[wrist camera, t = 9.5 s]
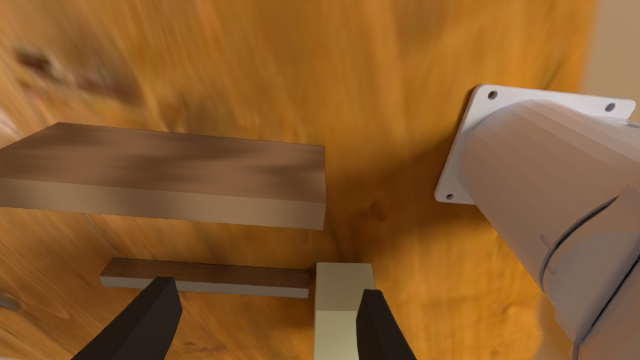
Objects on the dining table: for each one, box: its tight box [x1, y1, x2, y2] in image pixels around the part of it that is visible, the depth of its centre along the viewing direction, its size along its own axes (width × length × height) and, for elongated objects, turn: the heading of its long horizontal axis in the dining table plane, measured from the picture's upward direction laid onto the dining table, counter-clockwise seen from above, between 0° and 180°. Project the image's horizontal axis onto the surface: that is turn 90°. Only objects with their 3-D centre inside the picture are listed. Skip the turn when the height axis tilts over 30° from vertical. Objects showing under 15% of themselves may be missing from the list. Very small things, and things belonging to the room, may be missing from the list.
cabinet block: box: [313, 262, 376, 360], centre depth 24 cm, size 4×8×4 cm, turn 178°
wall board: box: [0, 122, 327, 230], centre depth 15 cm, size 16×2×6 cm, turn 84°
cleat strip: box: [99, 258, 309, 298], centre depth 23 cm, size 16×1×2 cm, turn 84°
